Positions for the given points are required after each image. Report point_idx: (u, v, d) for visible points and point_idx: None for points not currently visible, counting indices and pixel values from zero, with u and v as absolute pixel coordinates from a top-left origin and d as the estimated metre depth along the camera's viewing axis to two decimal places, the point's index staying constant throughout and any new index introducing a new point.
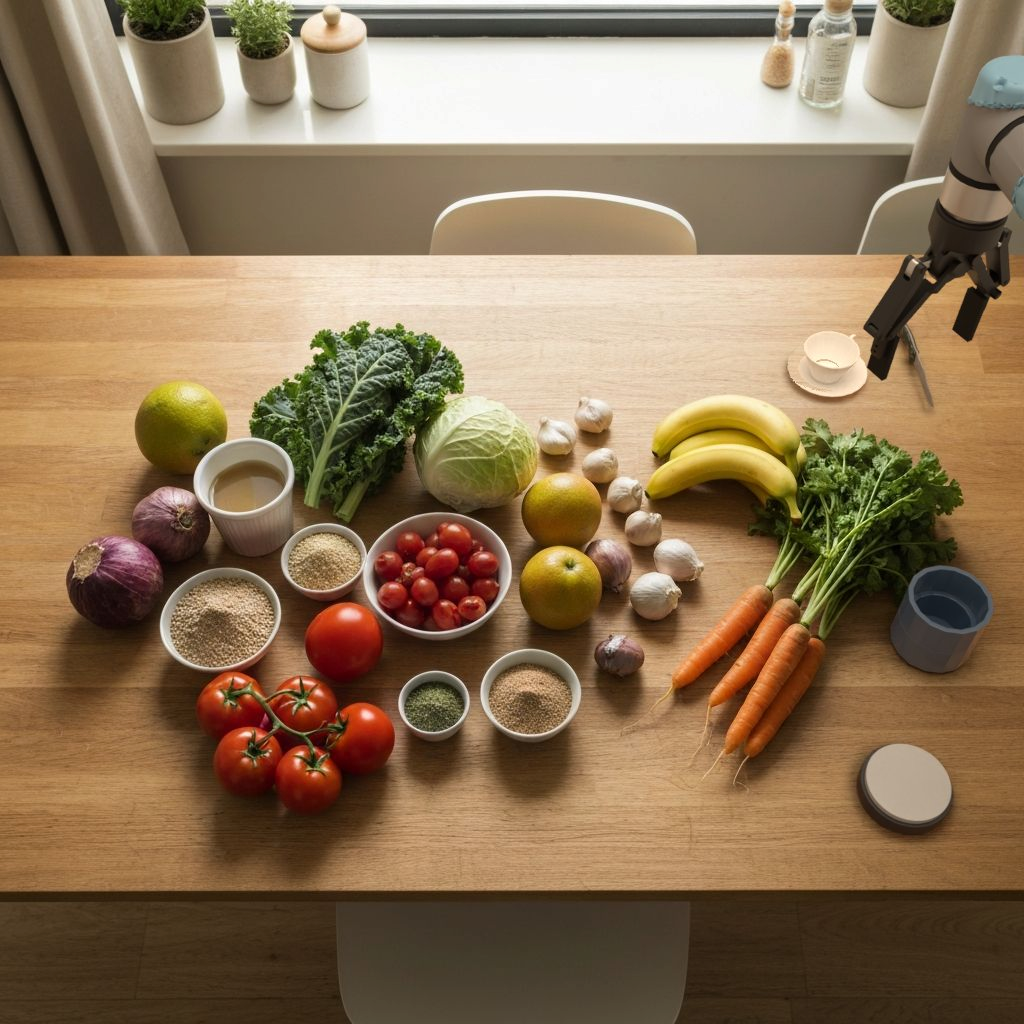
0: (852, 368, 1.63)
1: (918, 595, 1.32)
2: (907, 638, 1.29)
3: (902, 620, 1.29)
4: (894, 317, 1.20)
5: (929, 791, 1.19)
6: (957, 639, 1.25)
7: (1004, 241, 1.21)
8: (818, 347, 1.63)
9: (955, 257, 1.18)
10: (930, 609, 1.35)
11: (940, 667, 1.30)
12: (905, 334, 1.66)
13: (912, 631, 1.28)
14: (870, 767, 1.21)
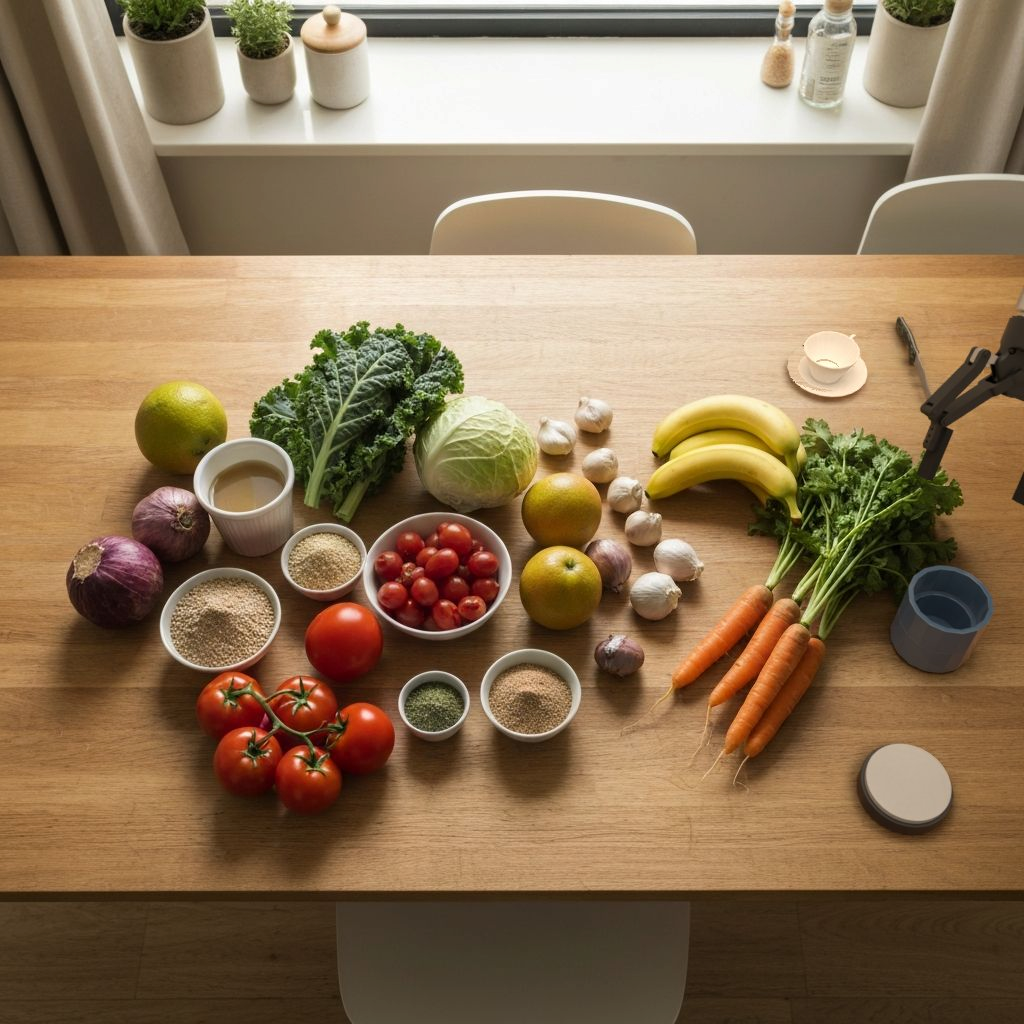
0: (852, 368, 1.63)
1: (918, 595, 1.32)
2: (907, 638, 1.29)
3: (902, 620, 1.29)
4: (950, 396, 1.26)
5: (929, 791, 1.19)
6: (957, 639, 1.25)
7: None
8: (818, 347, 1.63)
9: (1020, 366, 1.26)
10: (930, 609, 1.35)
11: (940, 667, 1.30)
12: (905, 334, 1.66)
13: (912, 631, 1.28)
14: (870, 767, 1.21)
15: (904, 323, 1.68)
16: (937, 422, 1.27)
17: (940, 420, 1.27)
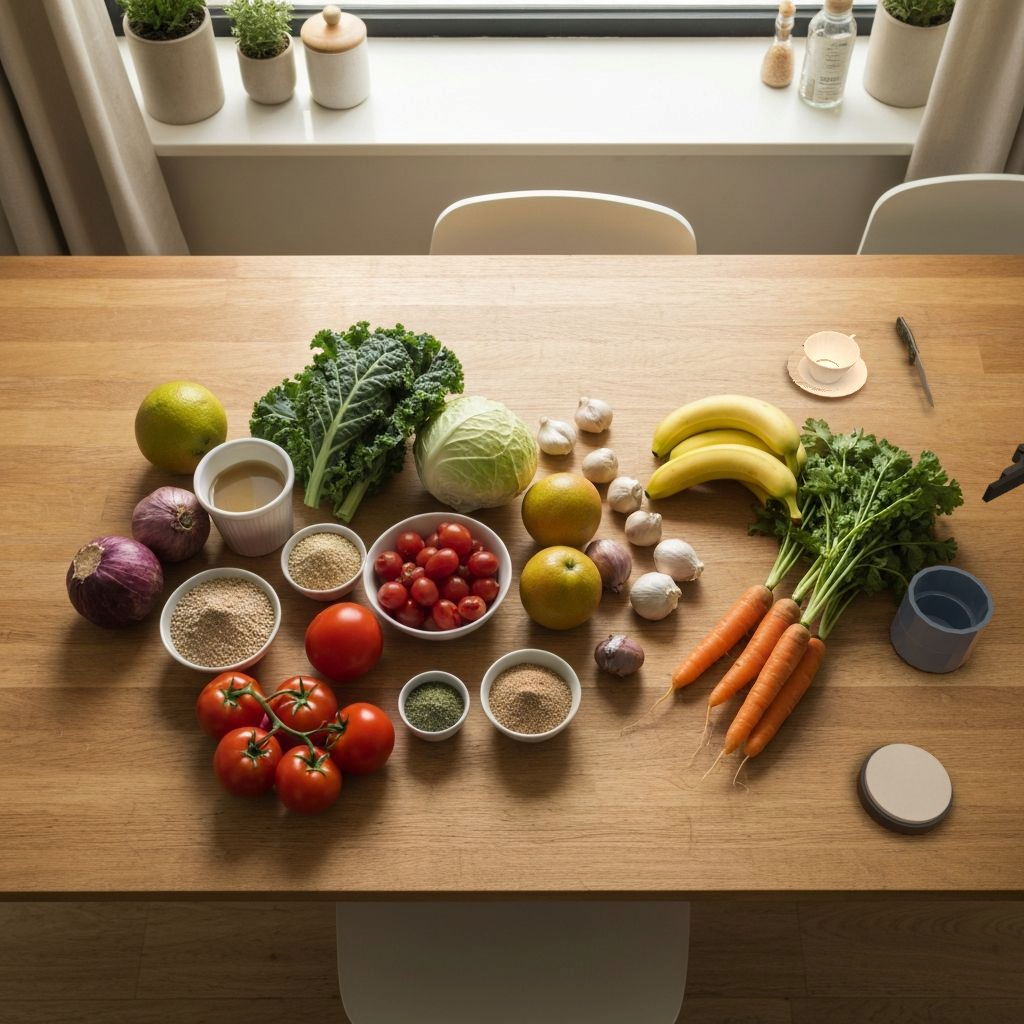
0: (852, 368, 1.63)
1: (918, 595, 1.32)
2: (907, 638, 1.29)
3: (902, 620, 1.29)
4: None
5: (929, 791, 1.19)
6: (957, 639, 1.25)
7: None
8: (818, 347, 1.63)
9: None
10: (930, 609, 1.35)
11: (940, 667, 1.30)
12: (905, 334, 1.66)
13: (912, 631, 1.28)
14: (870, 767, 1.21)
15: (904, 323, 1.68)
16: (1022, 459, 1.30)
17: None
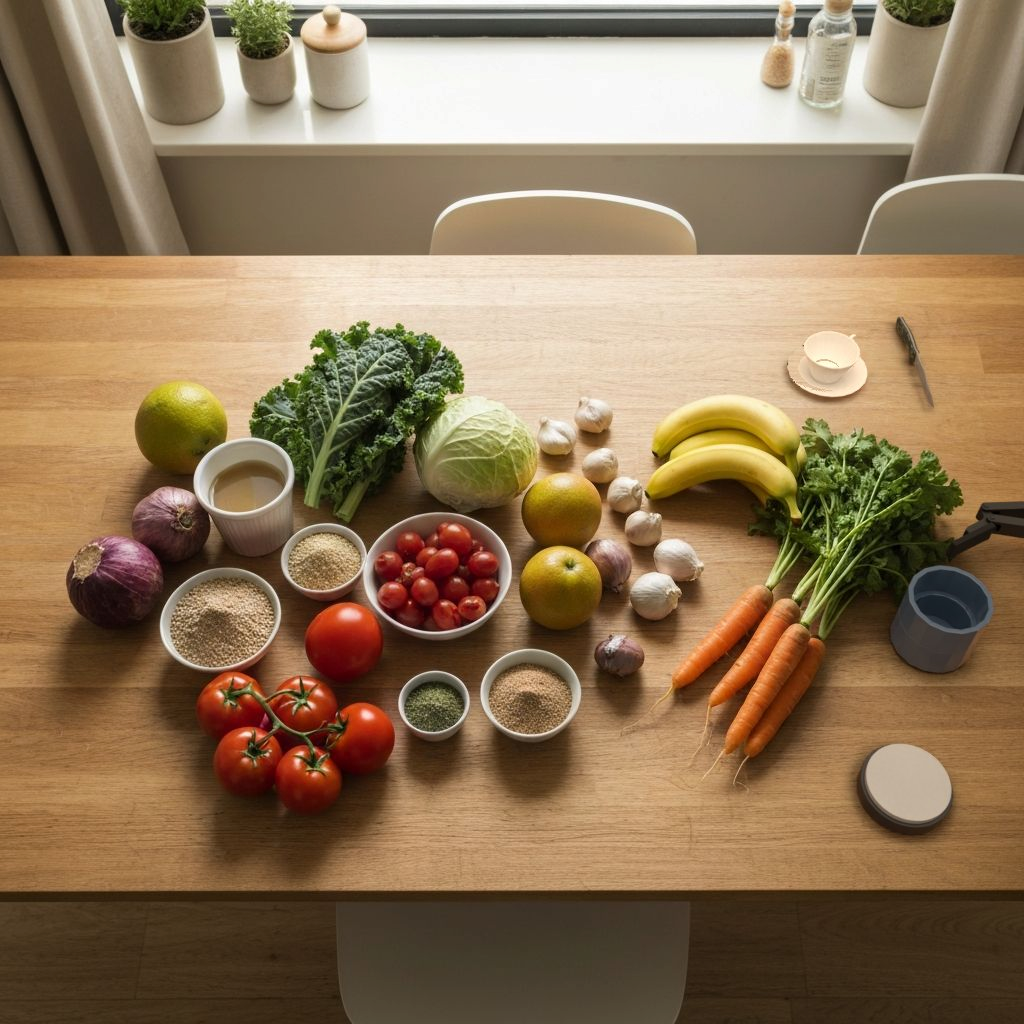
0: (852, 368, 1.63)
1: (918, 595, 1.32)
2: (907, 638, 1.29)
3: (902, 620, 1.29)
4: (1006, 504, 1.38)
5: (929, 791, 1.19)
6: (957, 639, 1.25)
7: None
8: (818, 347, 1.63)
9: None
10: (930, 609, 1.35)
11: (940, 667, 1.30)
12: (905, 334, 1.66)
13: (912, 631, 1.28)
14: (870, 767, 1.21)
15: (904, 323, 1.68)
16: (984, 517, 1.37)
17: (988, 515, 1.37)
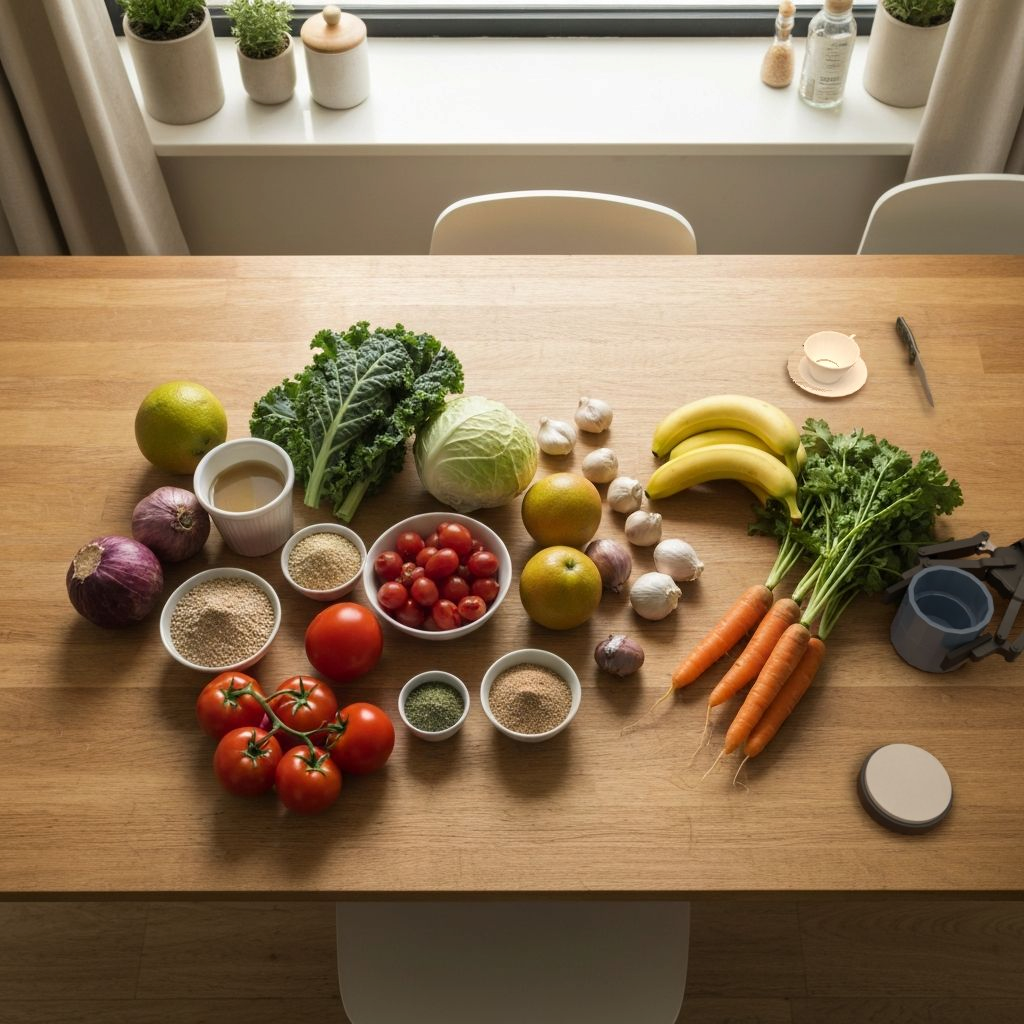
0: (852, 368, 1.63)
1: (918, 595, 1.33)
2: (907, 638, 1.29)
3: (902, 620, 1.29)
4: (942, 546, 1.34)
5: (929, 791, 1.19)
6: (957, 639, 1.25)
7: None
8: (818, 347, 1.63)
9: None
10: (930, 609, 1.35)
11: None
12: (905, 334, 1.66)
13: (912, 630, 1.28)
14: (870, 767, 1.21)
15: (904, 323, 1.68)
16: (921, 563, 1.33)
17: (924, 561, 1.33)
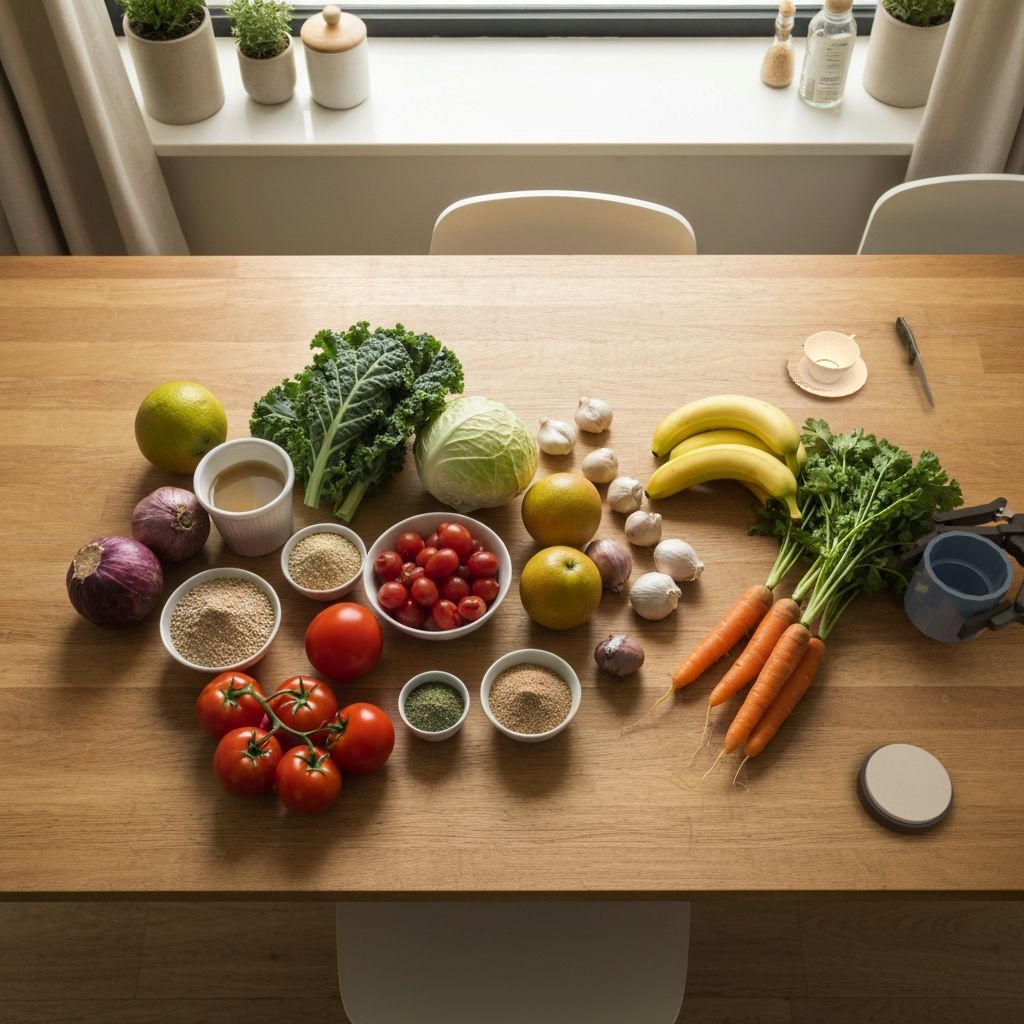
0: (852, 368, 1.63)
1: (933, 563, 1.27)
2: (922, 607, 1.24)
3: (917, 588, 1.24)
4: (958, 513, 1.29)
5: (929, 791, 1.19)
6: (975, 606, 1.19)
7: None
8: (818, 347, 1.63)
9: None
10: (945, 578, 1.30)
11: (957, 637, 1.24)
12: (905, 334, 1.66)
13: (928, 598, 1.22)
14: (870, 767, 1.21)
15: (904, 323, 1.68)
16: (936, 530, 1.28)
17: (939, 528, 1.28)
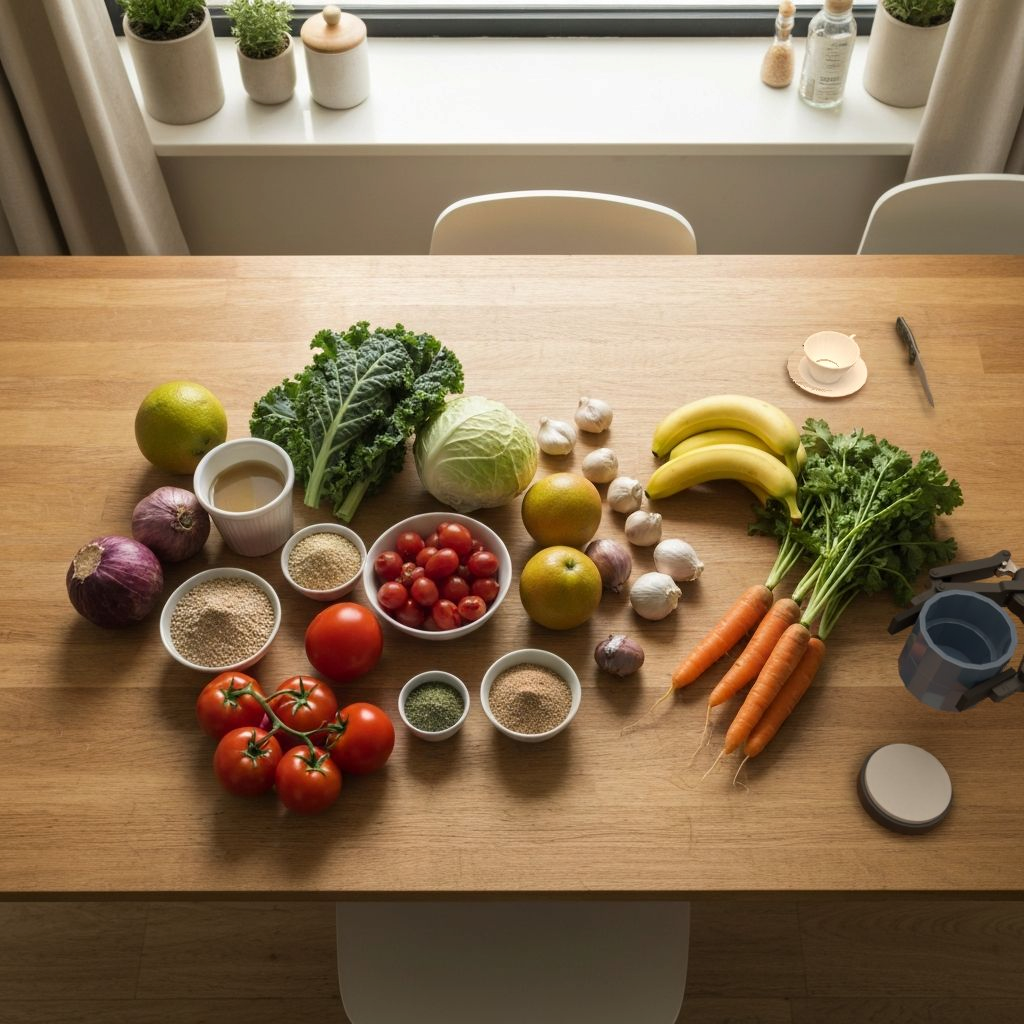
0: (852, 368, 1.63)
1: (930, 623, 1.16)
2: (918, 673, 1.13)
3: (912, 652, 1.13)
4: (957, 567, 1.18)
5: (929, 791, 1.19)
6: (976, 675, 1.08)
7: None
8: (818, 347, 1.63)
9: None
10: (943, 639, 1.19)
11: None
12: (905, 334, 1.66)
13: (924, 665, 1.11)
14: (870, 767, 1.21)
15: (904, 323, 1.68)
16: (933, 587, 1.17)
17: (936, 585, 1.17)
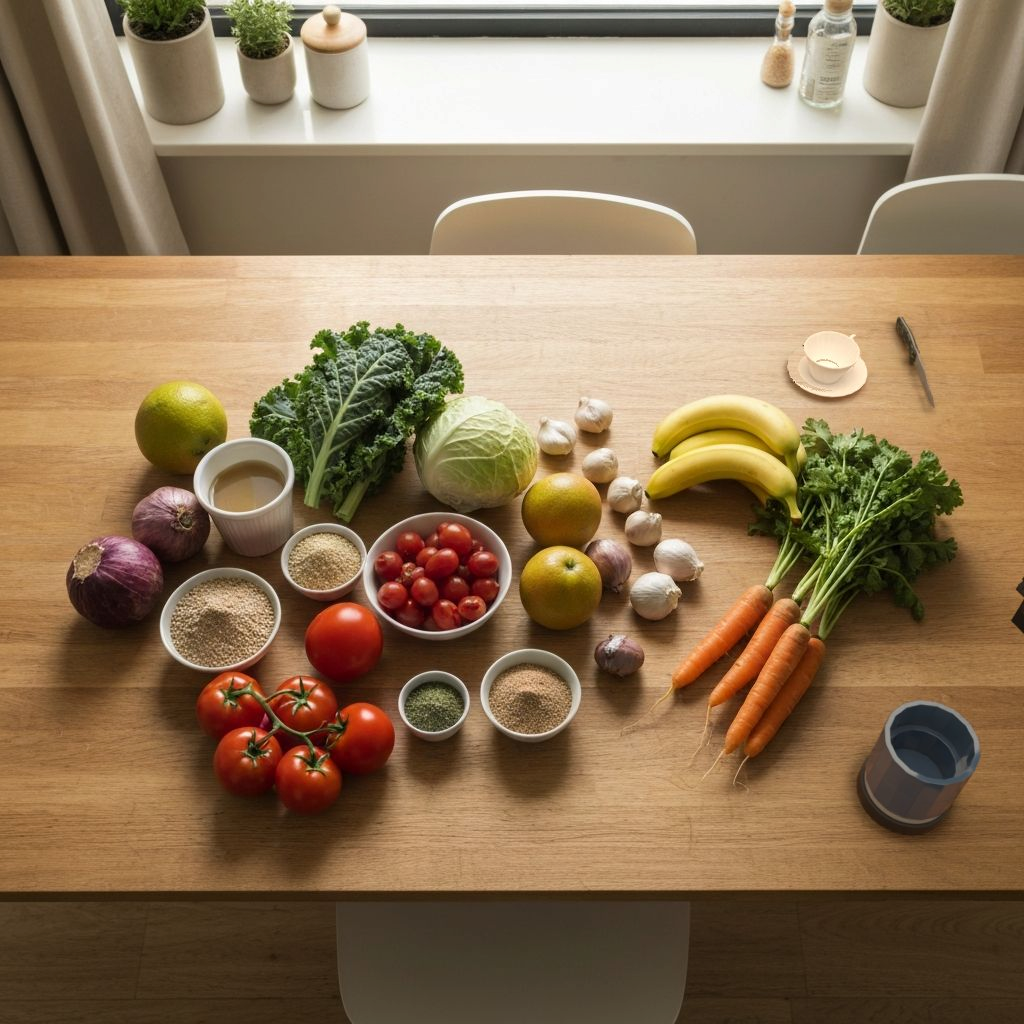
0: (852, 368, 1.63)
1: (896, 730, 1.18)
2: (883, 782, 1.15)
3: (878, 762, 1.15)
4: None
5: None
6: (939, 790, 1.10)
7: None
8: (818, 347, 1.63)
9: None
10: (910, 744, 1.20)
11: (921, 815, 1.15)
12: (905, 334, 1.66)
13: (889, 776, 1.13)
14: None
15: (904, 323, 1.68)
16: None
17: None
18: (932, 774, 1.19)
